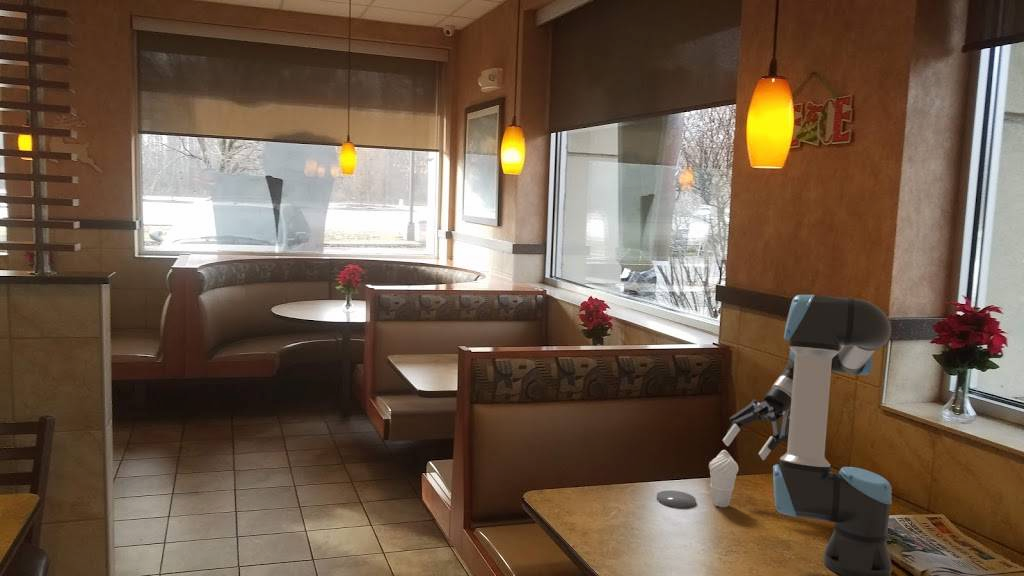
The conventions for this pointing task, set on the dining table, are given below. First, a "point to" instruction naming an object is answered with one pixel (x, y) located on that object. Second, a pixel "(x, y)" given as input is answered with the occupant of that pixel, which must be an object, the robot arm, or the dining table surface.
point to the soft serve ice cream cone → (722, 478)
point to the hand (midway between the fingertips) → (742, 450)
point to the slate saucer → (676, 499)
